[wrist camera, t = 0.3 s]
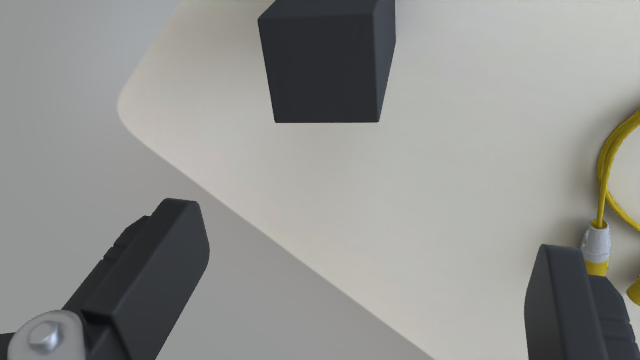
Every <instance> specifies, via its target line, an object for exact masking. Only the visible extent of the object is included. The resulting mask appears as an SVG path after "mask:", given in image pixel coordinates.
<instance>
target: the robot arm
mask: <svg viewBox="0 0 640 360" xmlns="http://www.w3.org/2000/svg"><path fill="white" fill-rule="evenodd" d="M209 252H210V249H209V242H208V238H207V234H206V230H205V226H204V222H203V218H202V214H201V210H200V206H199V204H198V203H197V202H196V201H189V200H182V199H173V198H166V199H164V200H163V201H162V202H161V203H160V205H159V206H158V207H157V209H156V210H155V211H154V212H153V214H152V215H151V216H143V217H142V218H140V219H139V220H137V221H136V222H134V223H133V224H131V225H130V226H129V227H127V228H126V229H125V230H124V231H123V233H122V234H121V235H120V237H119V238H118V239H117V240H116V241H115V243H114V246H113V247H111V248H110V249H109V250H108V251H107V253H106V254H105V255H104V258H103V260H100V261H99V263H98V264H97V265H96V267H95V268H94V269H93V270H92V272H91V273H90V274H89V275H88V277H87V278H86V279H85V280H84V282H83V283H82V284H81V286H80V287H79V288H78V289H77V290H76V292H75V293H74V294H73V295H72V297H71V298H70V299H69V300H68V302H67V303H66V304H65V305H64V307H63V308H62V309H61V310H54V311H49V312H45V313H43V314H40V315H38V316H36V317H34V318H32V319H31V320H29V321H28V322H26V323H25V324H24V325H23V326H22V327H21V328H20V329H19V330H18V331H17V332H14V333H6V334H0V360H155V359H156V357H157V355H158V353H159V352H160V350H161V348H162V346H163V344H164V343H165V341H166V339H167V337H168V336H169V334H170V332H171V330H172V328H173V327H174V325H175V323H176V321H177V320H178V318H179V316H180V314H181V312H182V311H183V309H184V307H185V305H186V303H187V302H188V300H189V298H190V296H191V294H192V293H193V291H194V289H195V287H196V286H197V284H198V282H199V280H200V278H201V276H202V275H203V273H204V271H205V269H206V267H207V264H208V260H209ZM524 319H525V329H526V338H527V348H528V357H529V360H640V352H639V348H638V345H637V343H635V335H634V332H633V329H632V326H631V324H629V321H630V319H629V316H628V313H627V309H626V306H625V303H624V300H623V297H622V296H621V295H620V293H619V292H618V291H617V290H616V288H615V287H614V286H613V285H612V284H611V282H610V281H609V280H608V279H607V277H605V276H598V275H590V274H588V273H587V269H586V265H585V261H584V257H583V254H582V251H581V250H580V249H579V248H572V247H564V246H556V245H547V244H542V245H541V246H540V248H539V251H538V254H537V257H536V261H535V264H534V267H533V271H532V274H531V277H530V281H529V284H528V288H527V291H526V296H525V305H524Z"/></svg>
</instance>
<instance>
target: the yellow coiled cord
mask: <svg viewBox="0 0 640 360" xmlns="http://www.w3.org/2000/svg"><path fill="white" fill-rule="evenodd" d="M639 125H640V109H638V110H637V111H636V112H635V113H634V114H633V115H632V116H631V117H630V118H629V119H627V120H626V121H624V122H623V123H622V124H621V125H620V126H618V127H617V128H616V129H615V130H614V131H613V132H612V134H611V135H610V136H609V138H608V139H607V140H606V142H605V144H604V146H603V148H602V149H601V152H600V155H599V158H598V164H597V179H598V183H599V187H600V196H599V203H598V211H597V219H593V220H591V221H589V223H588V227H587V230H586V232H585V234H584V236H583V239H582V241H581V244H580V250H581V251H582V254H583V257H584V261H585V265H586V269H587V273H588V274H590V275H598V276H605V275H606V272H607V270H608V267H607V266H608V261H609V256H610V251H611V246H610V245H611V244H610V234H609V224H608V223H607V222H606V221H604V220H602V218H603V211H604V204H605V200H606V202H607V203H608V204H609V206H610V207H611V208H612V210H613V211H614V212H615V213H616V214H617V215H618V216H619V217H620V218H621V219H622V220H624V221H625V222H626V223H627V224H628V225H630V226H631V227H632V228H634V229H635V230H637V231H638V232H640V225H639V224H637V223H636V222H634V221H633V220H632V219H631V218H630V217H629V216H628V215H627V214H626V213H625V212H623V210H622V209H621V208H620V207H619V206H618V204H617V203H616V202H615V201H614V199H613V198H612V196H611V194H610V193H609V191H608V189H607V183H608V178H609V173H610V168H611V165H612V162H613V159H614V156H615V154H616V152H617V150H618V148H619V146H620V145H621V143H622V142H623V140H624V139H625V138H626V137H627V136H628V134H629V133H630V132H632V131H633V130H634V129H635V128H636V127H637V126H639ZM637 278H638V280H637V281H636V282H635V283H634V284H632V285H631V286H630V287H629V288H628V289H627V291H626V293H627V295H628V297H629V298H630V299H631V300H632V301H633V302H634V303H636V304H637V305H639V306H640V275H639V276H638V277H637Z"/></svg>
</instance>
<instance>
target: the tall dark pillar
mask: <svg viewBox="0 0 640 360" xmlns="http://www.w3.org/2000/svg"><path fill="white" fill-rule="evenodd" d="M258 26H259V32H260V38H261V44H262V50H263V55H264V61H265V67H266V73H267V79H268V85H269V91H270V96H271V102H272V108H273V114H274V120H275V123H363V122H379V119H380V114H381V109H382V104H383V100H384V95H385V90H386V86H387V81H388V76H389V71H390V67H391V62H392V57H393V53H394V48H395V43H396V34H395V0H276V1H275V2H274V3H273V4H272V5H271V6H270V7H269V8H268V9H267V10H266V11H265V12H264V13H263V14H262V15H261V16H260V17H259V18H258Z"/></svg>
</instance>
